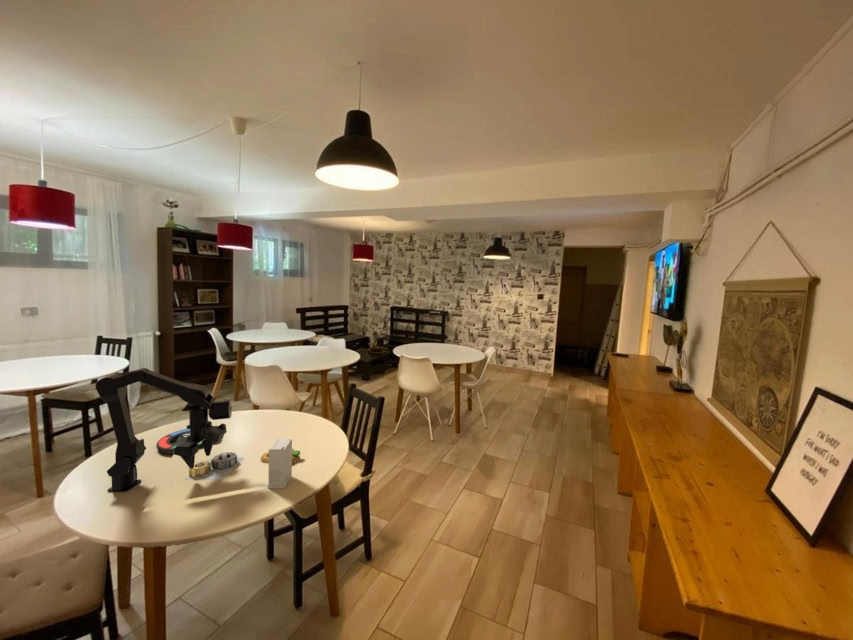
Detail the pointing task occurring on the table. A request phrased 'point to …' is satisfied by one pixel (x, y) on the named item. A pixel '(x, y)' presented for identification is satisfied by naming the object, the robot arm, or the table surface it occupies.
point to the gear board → (215, 471)
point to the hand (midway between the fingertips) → (200, 461)
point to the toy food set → (294, 456)
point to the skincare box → (280, 463)
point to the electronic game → (178, 435)
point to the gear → (224, 461)
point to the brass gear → (200, 469)
